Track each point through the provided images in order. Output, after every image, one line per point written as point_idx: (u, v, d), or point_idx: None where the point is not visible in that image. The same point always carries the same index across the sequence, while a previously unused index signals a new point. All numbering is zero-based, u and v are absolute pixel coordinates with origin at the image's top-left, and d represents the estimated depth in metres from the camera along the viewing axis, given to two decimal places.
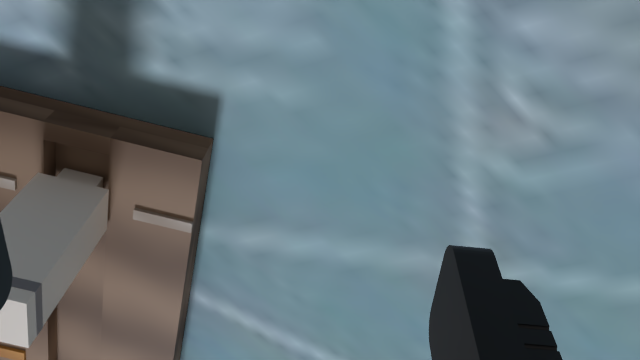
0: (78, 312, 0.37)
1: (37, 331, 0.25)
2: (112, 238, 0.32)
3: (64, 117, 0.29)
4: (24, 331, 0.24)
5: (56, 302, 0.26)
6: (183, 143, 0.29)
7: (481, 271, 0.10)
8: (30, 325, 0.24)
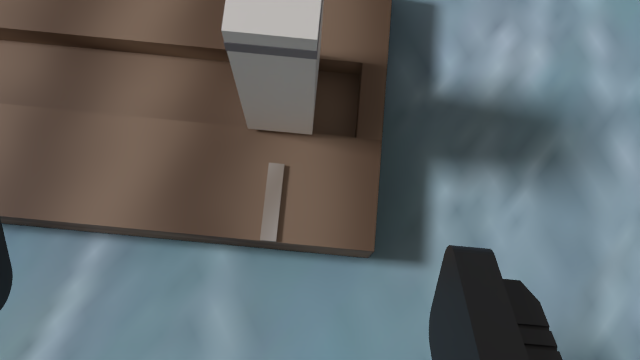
0: (59, 75, 0.25)
1: (232, 44, 0.16)
2: (227, 134, 0.24)
3: None
4: (257, 29, 0.16)
5: (238, 69, 0.18)
6: None
7: (481, 271, 0.10)
8: (262, 38, 0.16)
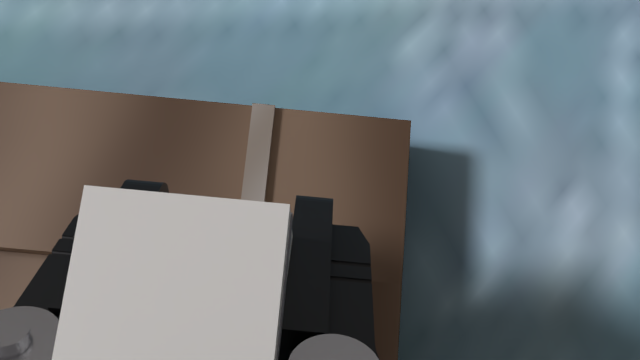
0: None
1: None
2: None
3: None
4: None
5: None
6: None
7: (315, 215, 0.11)
8: None
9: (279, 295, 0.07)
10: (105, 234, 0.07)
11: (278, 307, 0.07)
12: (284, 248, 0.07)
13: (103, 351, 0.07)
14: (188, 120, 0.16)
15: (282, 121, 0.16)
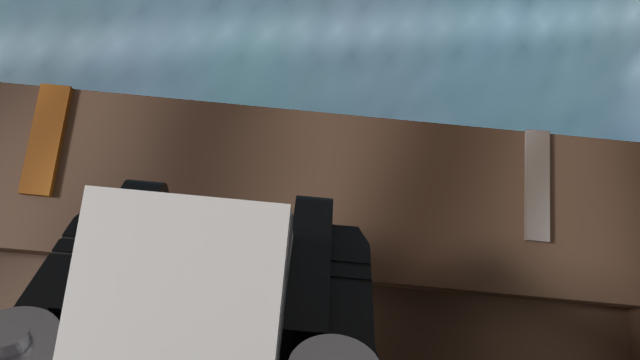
0: None
1: None
2: None
3: None
4: None
5: None
6: None
7: (315, 215, 0.11)
8: None
9: (280, 295, 0.07)
10: (106, 234, 0.07)
11: (279, 307, 0.07)
12: (285, 248, 0.07)
13: (104, 351, 0.07)
14: (463, 145, 0.16)
15: (555, 147, 0.16)
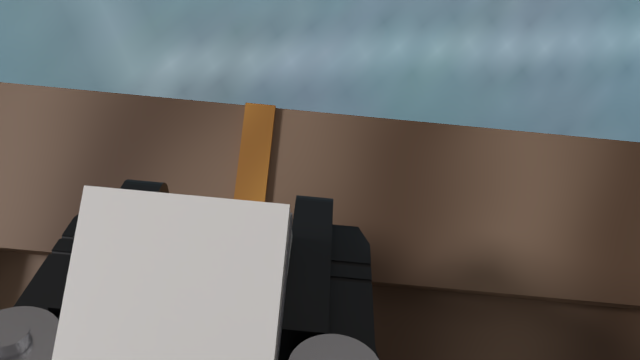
0: None
1: None
2: None
3: None
4: None
5: None
6: None
7: (315, 216, 0.11)
8: None
9: (279, 295, 0.07)
10: (105, 234, 0.07)
11: (278, 307, 0.07)
12: (284, 248, 0.07)
13: (103, 351, 0.07)
14: None
15: None
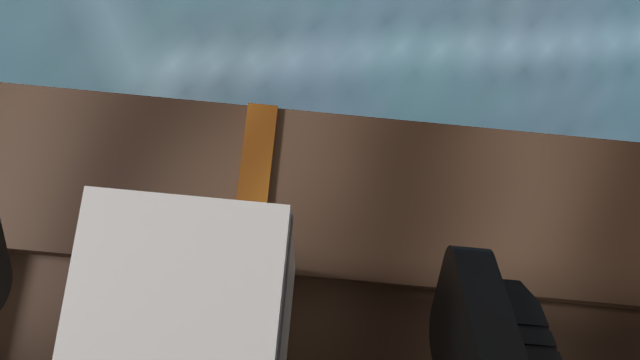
0: (372, 335, 0.16)
1: None
2: None
3: None
4: None
5: None
6: None
7: (481, 271, 0.10)
8: None
9: (280, 295, 0.07)
10: (105, 234, 0.07)
11: (279, 308, 0.07)
12: (285, 248, 0.07)
13: (103, 352, 0.07)
14: None
15: None
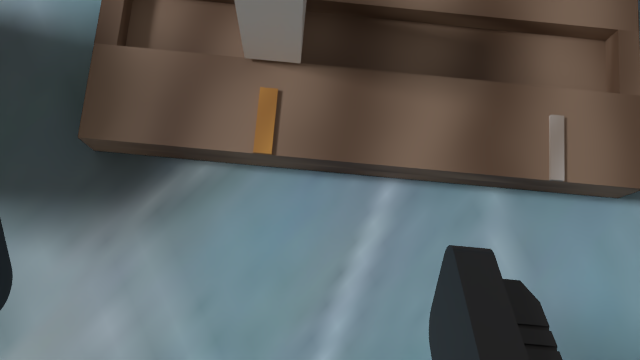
0: (349, 40, 0.29)
1: None
2: (511, 90, 0.28)
3: None
4: None
5: None
6: None
7: (481, 271, 0.10)
8: None
9: None
10: None
11: None
12: None
13: None
14: None
15: None
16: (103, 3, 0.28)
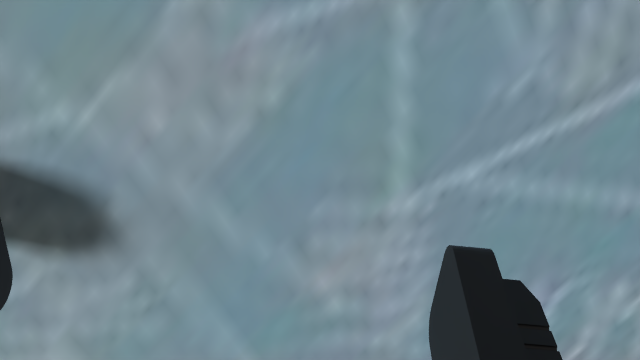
0: None
1: None
2: None
3: None
4: None
5: None
6: None
7: (481, 271, 0.10)
8: None
9: None
10: None
11: None
12: None
13: None
14: None
15: None
16: None
